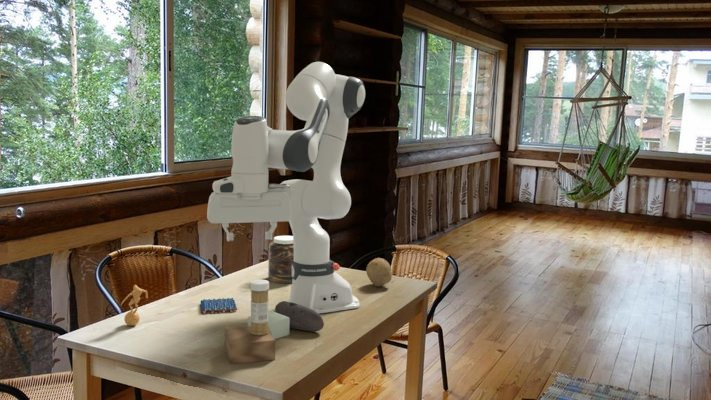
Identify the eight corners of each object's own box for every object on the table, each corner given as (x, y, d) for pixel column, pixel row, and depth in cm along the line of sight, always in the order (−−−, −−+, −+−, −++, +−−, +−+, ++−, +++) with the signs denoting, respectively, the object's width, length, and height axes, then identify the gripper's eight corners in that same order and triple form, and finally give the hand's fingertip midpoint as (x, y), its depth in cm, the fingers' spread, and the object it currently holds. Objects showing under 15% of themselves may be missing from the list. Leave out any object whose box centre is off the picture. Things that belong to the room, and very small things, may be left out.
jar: (289, 272, 234) (290, 233, 232) (308, 280, 225) (309, 239, 223) (262, 277, 227) (262, 236, 224) (280, 285, 218) (280, 242, 216)
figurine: (140, 319, 180) (139, 279, 178) (153, 324, 177) (153, 283, 175) (114, 327, 174) (113, 285, 172) (127, 332, 170) (126, 289, 168)
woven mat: (237, 313, 189) (237, 307, 189) (201, 316, 186) (201, 309, 186) (234, 303, 199) (234, 296, 199) (200, 305, 196) (200, 298, 196)
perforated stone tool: (328, 331, 176) (328, 307, 175) (317, 337, 171) (318, 312, 170) (283, 321, 183) (284, 298, 182) (272, 326, 178) (273, 303, 177)
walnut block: (267, 343, 166) (267, 324, 165) (275, 359, 156) (275, 340, 155) (224, 346, 163) (224, 328, 162) (229, 363, 152) (229, 344, 152)
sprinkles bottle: (267, 329, 162) (267, 278, 160) (269, 335, 158) (270, 283, 156) (249, 330, 161) (249, 279, 159) (251, 336, 156) (251, 284, 154)
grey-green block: (270, 327, 178) (270, 310, 177) (289, 335, 173) (289, 317, 172) (247, 334, 172) (247, 316, 172) (266, 342, 167) (266, 324, 166)
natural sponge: (366, 281, 226) (366, 254, 224) (391, 282, 225) (392, 255, 224) (365, 289, 217) (366, 260, 215) (391, 290, 216) (392, 261, 215)
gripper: (289, 181, 159) (288, 235, 161) (206, 182, 153) (206, 238, 155) (294, 185, 153) (294, 241, 155) (208, 186, 147) (208, 244, 149)
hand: (249, 240), depth 155 cm, fingers open, 8 cm apart
